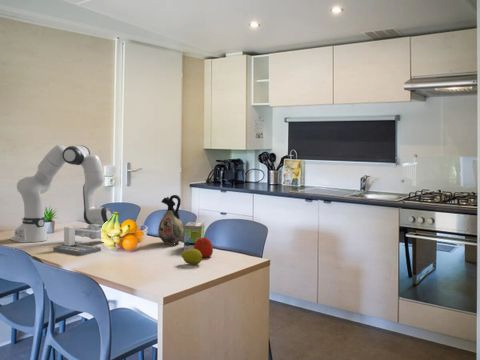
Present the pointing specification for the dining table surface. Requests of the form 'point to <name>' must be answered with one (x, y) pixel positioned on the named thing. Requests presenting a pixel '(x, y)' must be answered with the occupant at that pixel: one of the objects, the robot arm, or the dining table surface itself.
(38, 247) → the dining table surface
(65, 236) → the fader knob
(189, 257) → the lemon
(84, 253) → the console
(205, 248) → the apple
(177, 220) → the ceramic jug
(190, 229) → the tea box
